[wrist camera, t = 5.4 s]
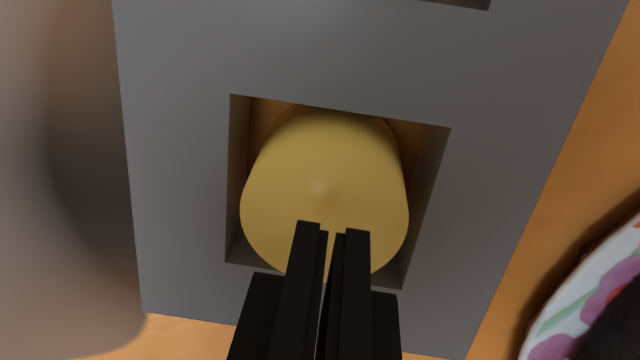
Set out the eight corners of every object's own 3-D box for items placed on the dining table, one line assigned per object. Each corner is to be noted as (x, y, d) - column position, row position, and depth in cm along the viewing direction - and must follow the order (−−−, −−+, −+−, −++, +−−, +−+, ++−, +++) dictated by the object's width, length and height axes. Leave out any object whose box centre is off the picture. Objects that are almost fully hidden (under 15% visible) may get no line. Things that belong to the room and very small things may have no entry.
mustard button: (415, 109, 15) (428, 159, 12) (384, 228, 17) (388, 294, 14) (267, 87, 15) (243, 130, 12) (257, 208, 17) (236, 269, 14)
